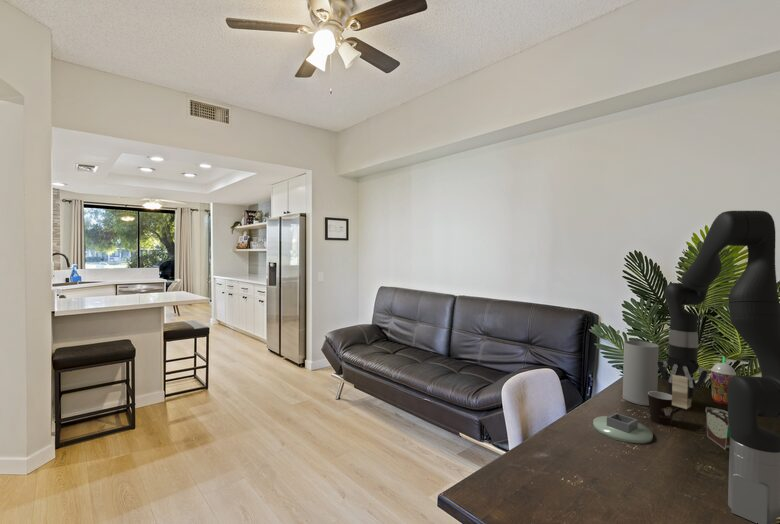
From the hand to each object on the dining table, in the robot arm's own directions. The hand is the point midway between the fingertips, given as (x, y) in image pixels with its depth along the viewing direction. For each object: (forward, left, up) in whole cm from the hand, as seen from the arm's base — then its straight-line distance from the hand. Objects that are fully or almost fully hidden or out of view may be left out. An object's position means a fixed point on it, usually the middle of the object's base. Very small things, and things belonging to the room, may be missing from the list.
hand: (681, 395), depth 122 cm
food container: (+16, -8, -17) cm, 25 cm away
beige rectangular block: (0, 0, -3) cm, 3 cm away
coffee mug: (+18, +10, -17) cm, 27 cm away
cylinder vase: (+34, +25, -17) cm, 46 cm away
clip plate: (-4, +16, -17) cm, 24 cm away
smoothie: (+63, +4, -17) cm, 65 cm away
